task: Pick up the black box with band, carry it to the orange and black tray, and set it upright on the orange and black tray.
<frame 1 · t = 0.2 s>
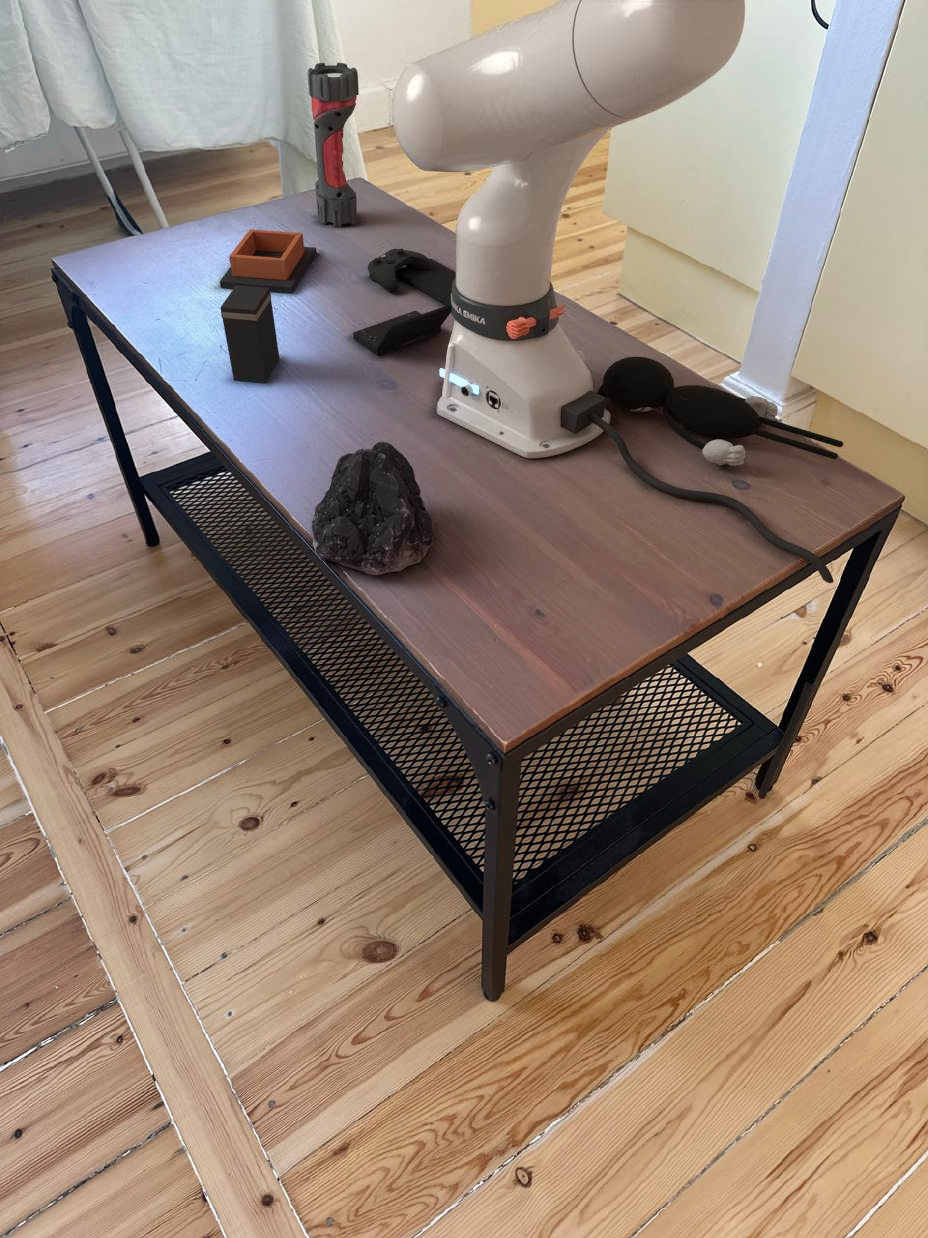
game controller: (397, 278, 140), on the table, touching smartphone
smartphone: (442, 286, 139), on the table, touching game controller
crystal cluster: (369, 544, 98), on the table
black box with band: (257, 369, 121), on the table
flashlight: (343, 222, 155), on the table
toy: (839, 459, 104), point 3 cm above the table
handheld gaming console: (404, 341, 127), on the table
orange and black tray: (270, 270, 142), on the table
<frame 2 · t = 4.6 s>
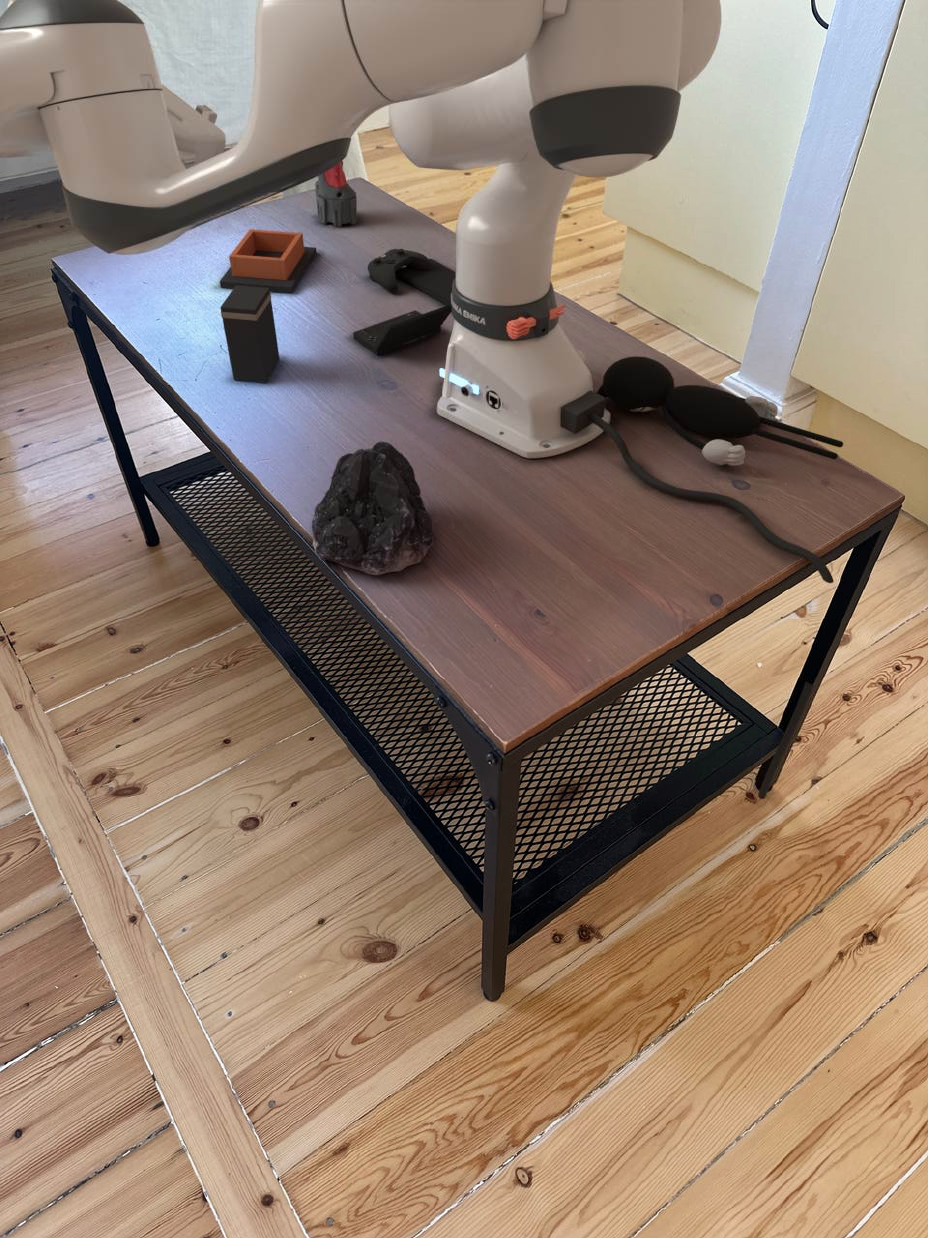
hand: (172, 88, 93), 34 cm above the table, tool horizontal, fingers open, 8 cm apart
nothing on the table moved.
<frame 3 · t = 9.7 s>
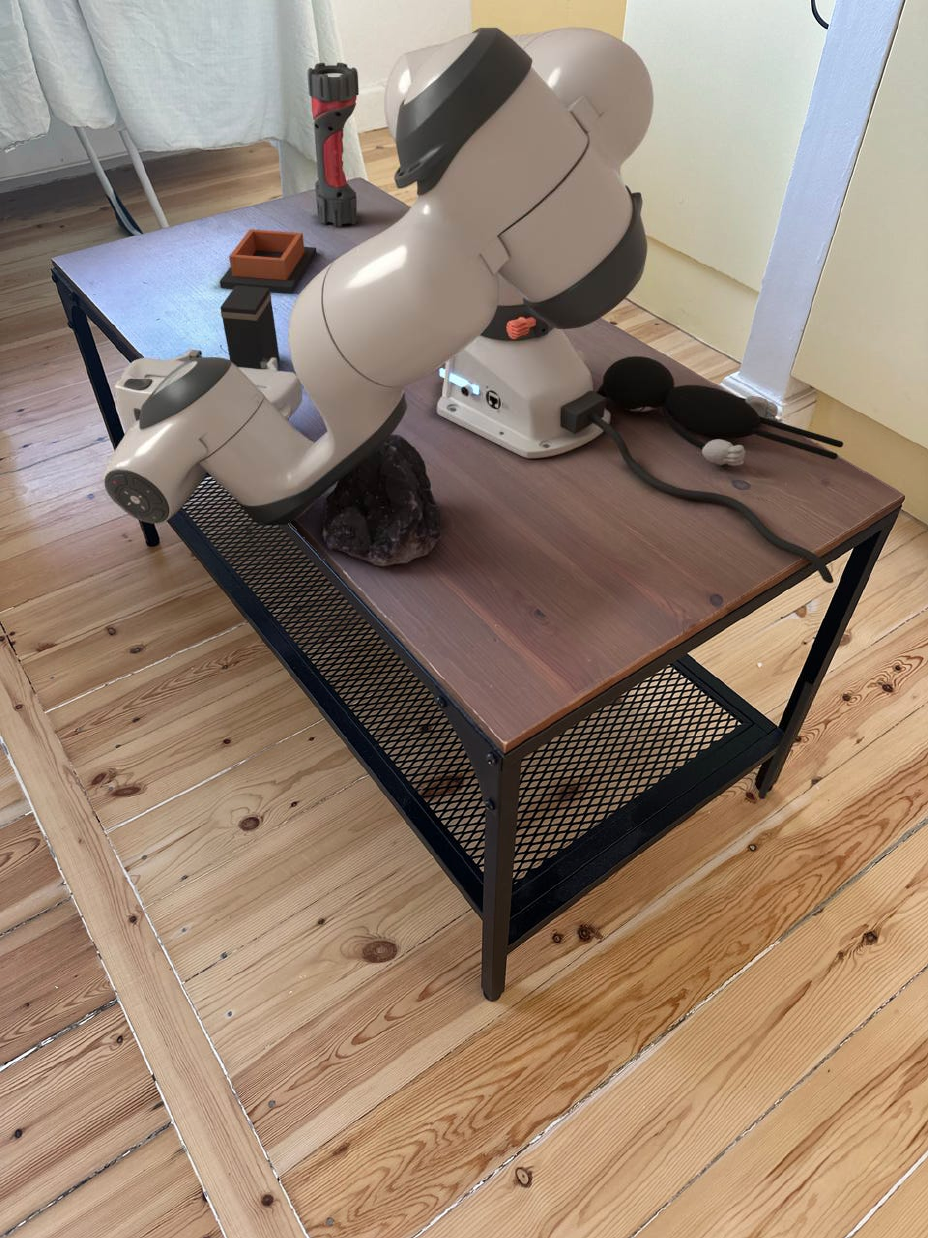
hand: (234, 358, 113), 5 cm above the table, tool horizontal, fingers open, 8 cm apart
crystal cluster: (379, 535, 99), on the table
everything else where it was.
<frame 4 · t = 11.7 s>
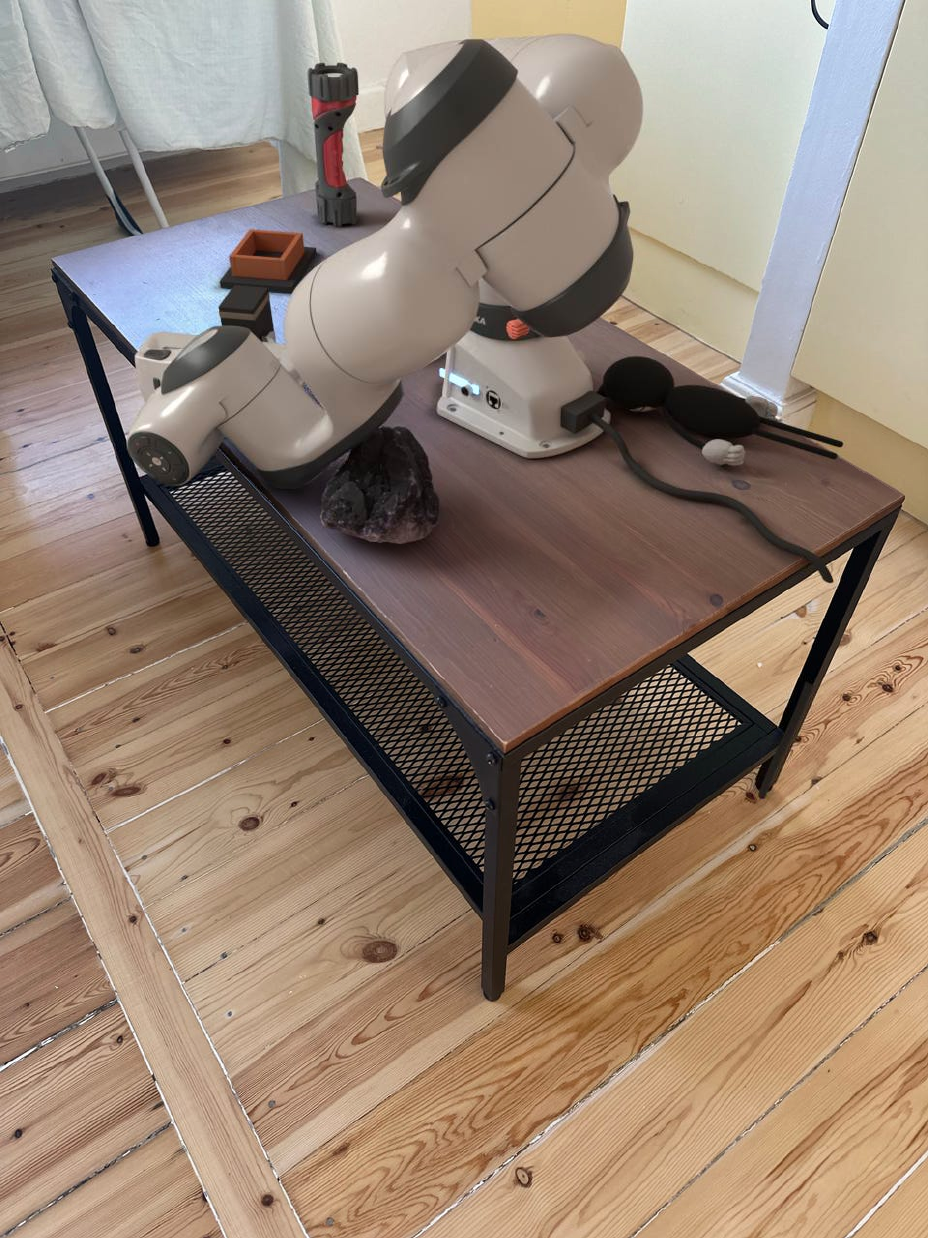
hand: (247, 334, 117), 5 cm above the table, tool horizontal, fingers closed on black box with band, 4 cm apart
crystal cluster: (376, 525, 98), on the table, touching arm
black box with band: (255, 369, 121), on the table, touching gripper
everything else where it was.
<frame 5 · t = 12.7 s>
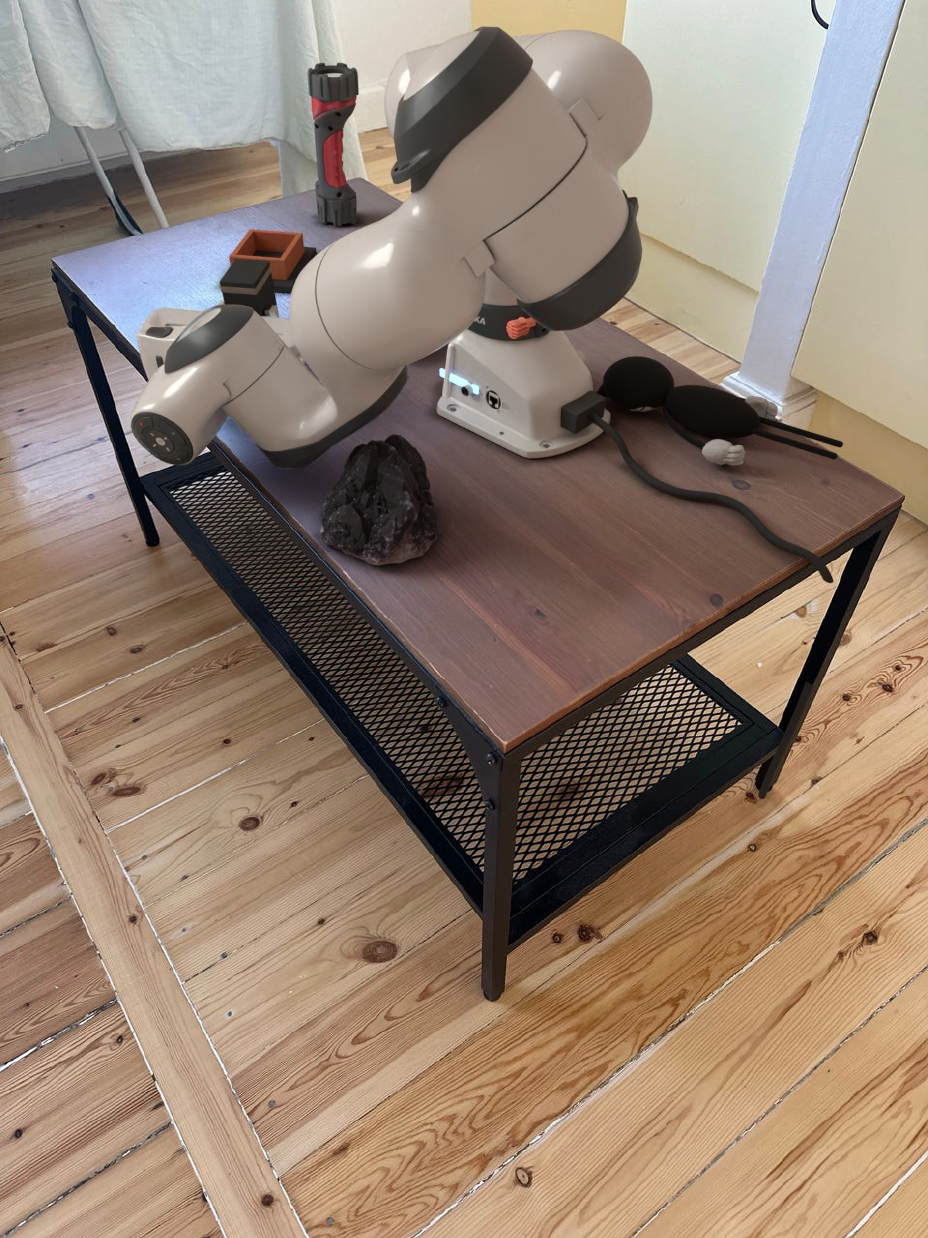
hand: (250, 308, 116), 8 cm above the table, tool horizontal, fingers closed on black box with band, 4 cm apart
crystal cluster: (377, 534, 99), on the table
black box with band: (259, 343, 120), point 3 cm above the table, touching gripper
everything else where it was.
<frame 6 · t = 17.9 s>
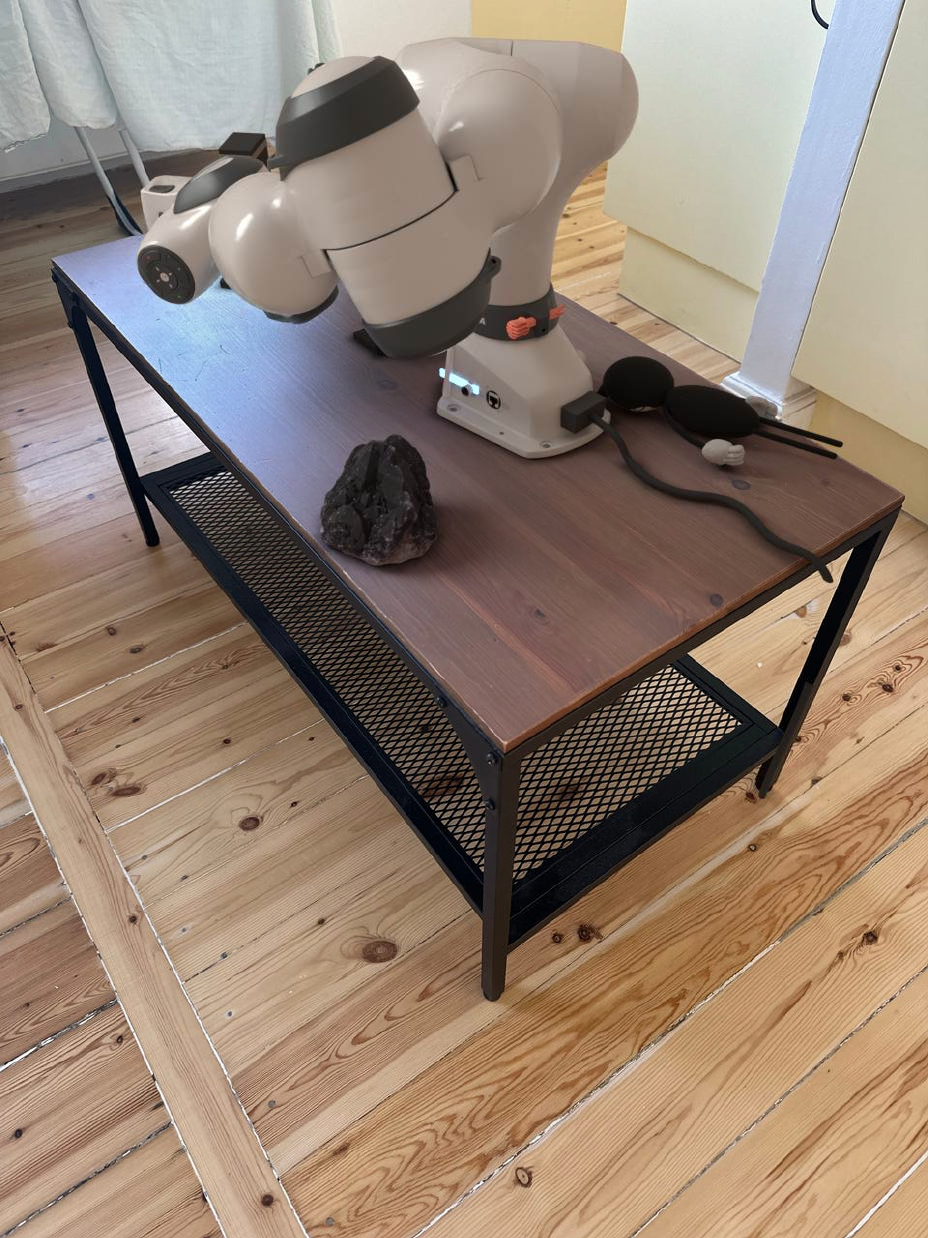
hand: (246, 179, 123), 17 cm above the table, tool horizontal, fingers closed on black box with band, 4 cm apart
black box with band: (255, 217, 127), point 12 cm above the table, touching gripper
everything else where it was.
when the fingers open (6 cm above the table, at t = 24.3 s): black box with band stays where it is, resting on orange and black tray.
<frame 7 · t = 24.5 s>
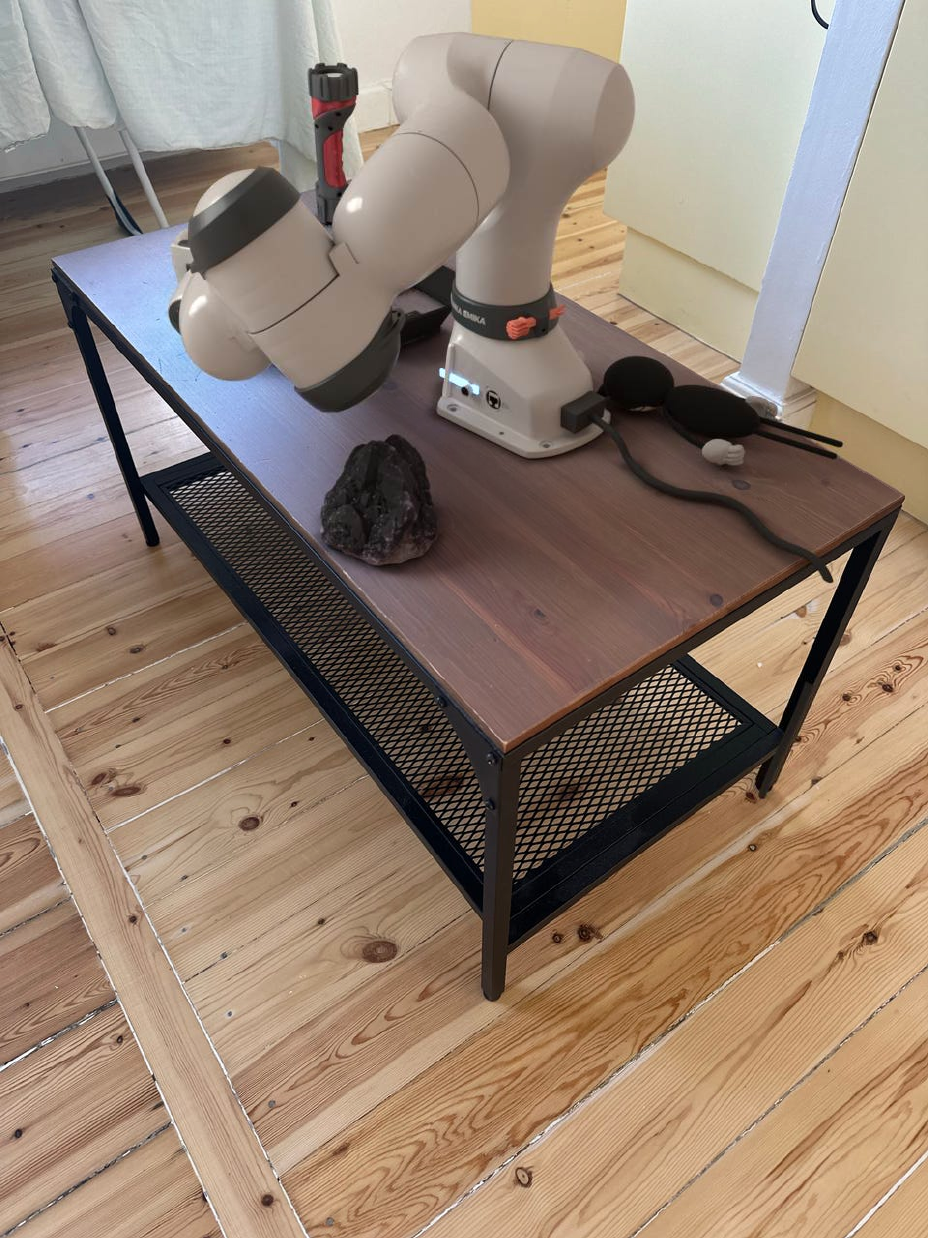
hand: (263, 230, 137), 6 cm above the table, tool horizontal, fingers open, 6 cm apart
black box with band: (269, 263, 141), point 1 cm above the table, touching orange and black tray
everything else where it was.
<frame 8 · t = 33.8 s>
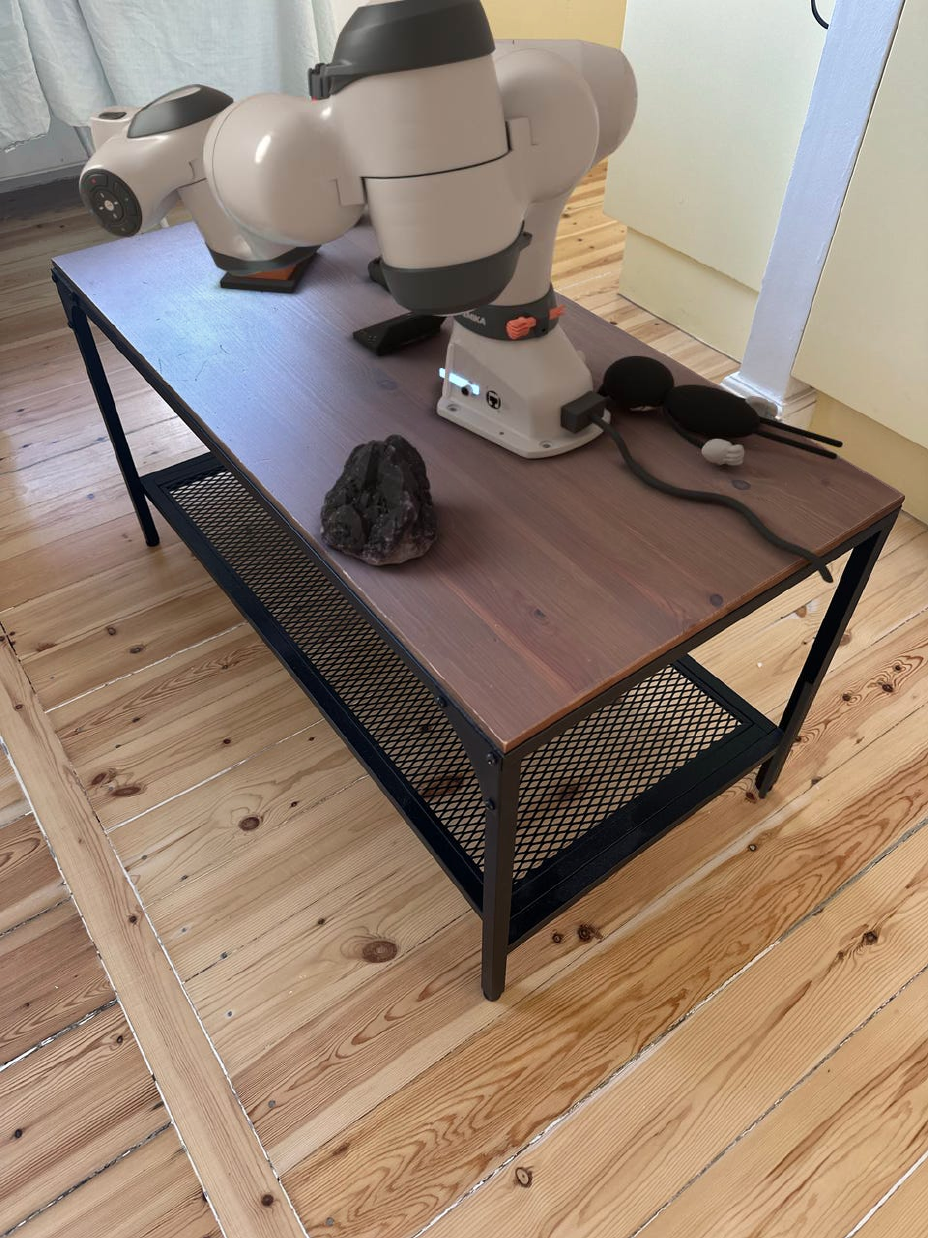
hand: (209, 112, 114), 26 cm above the table, tool horizontal, fingers open, 8 cm apart
nothing on the table moved.
at the end: black box with band 0.1 cm off-centre on the orange and black tray, point 1.0 cm above the orange and black tray's base; black box with band tilted 0°; the gripper is holding nothing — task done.
